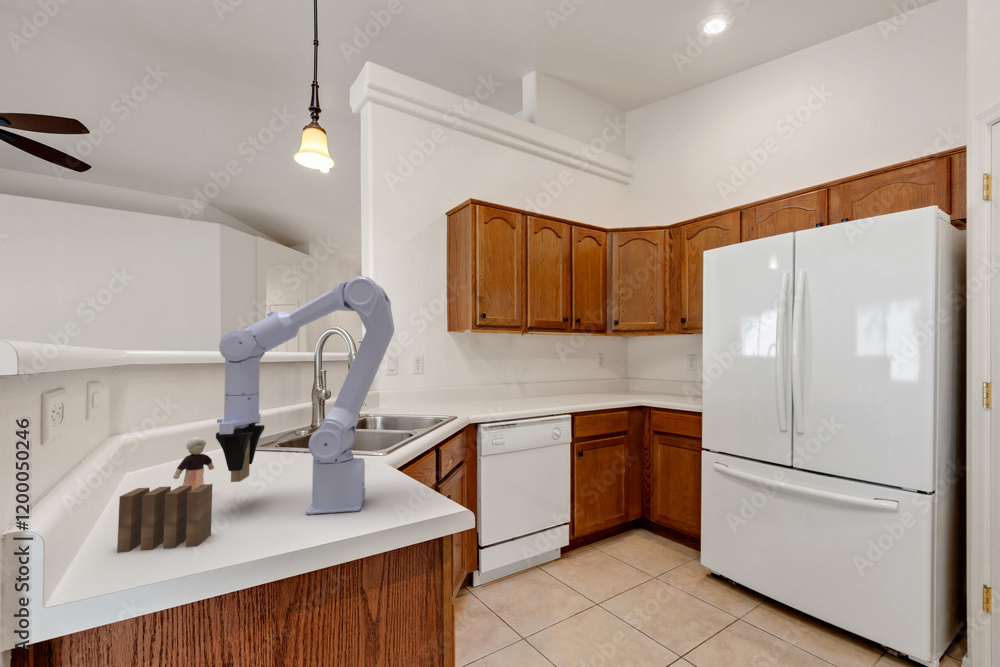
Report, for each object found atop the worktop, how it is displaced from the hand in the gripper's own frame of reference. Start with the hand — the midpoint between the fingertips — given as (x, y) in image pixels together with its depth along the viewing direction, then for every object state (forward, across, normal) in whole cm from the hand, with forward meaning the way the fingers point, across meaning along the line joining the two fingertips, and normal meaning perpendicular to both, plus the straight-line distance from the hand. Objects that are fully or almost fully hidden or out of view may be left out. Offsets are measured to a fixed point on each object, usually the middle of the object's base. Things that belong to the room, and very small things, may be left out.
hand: (240, 467), depth 83 cm
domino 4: (+8, +14, -1) cm, 17 cm away
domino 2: (+8, +14, -7) cm, 18 cm away
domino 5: (+2, 0, 0) cm, 2 cm away
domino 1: (+8, +14, -10) cm, 19 cm away
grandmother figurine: (+8, -8, -11) cm, 16 cm away
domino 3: (+8, +14, -4) cm, 17 cm away
